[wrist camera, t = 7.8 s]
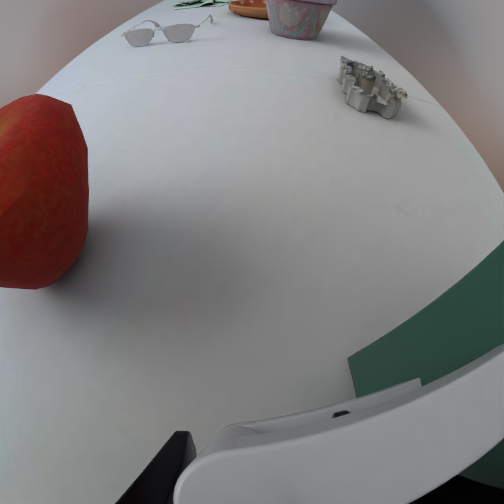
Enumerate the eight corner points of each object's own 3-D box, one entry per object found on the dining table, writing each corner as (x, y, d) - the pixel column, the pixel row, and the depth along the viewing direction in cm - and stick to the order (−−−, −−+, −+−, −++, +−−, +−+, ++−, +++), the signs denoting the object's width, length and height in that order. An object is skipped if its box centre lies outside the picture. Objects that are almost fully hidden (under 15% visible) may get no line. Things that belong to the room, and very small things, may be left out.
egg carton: (399, 124, 28) (411, 97, 25) (341, 108, 29) (349, 78, 25) (383, 88, 34) (390, 65, 30) (334, 75, 34) (340, 51, 31)
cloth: (240, 1, 73) (240, -4, 71) (208, 9, 62) (208, 2, 60) (193, 0, 77) (193, -5, 75) (157, 10, 66) (157, 5, 64)
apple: (89, 352, 14) (-71, 232, 4) (-11, 304, 14) (-112, 208, 4) (147, 204, 20) (104, 45, 10) (46, 192, 20) (-9, 81, 10)
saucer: (211, 15, 56) (211, 4, 53) (253, 6, 67) (254, -3, 64) (292, 26, 51) (293, 13, 48) (321, 18, 62) (322, 8, 59)
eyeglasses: (122, 49, 41) (120, 32, 37) (154, 27, 50) (153, 13, 47) (198, 41, 41) (198, 23, 37) (216, 22, 50) (216, 8, 47)
